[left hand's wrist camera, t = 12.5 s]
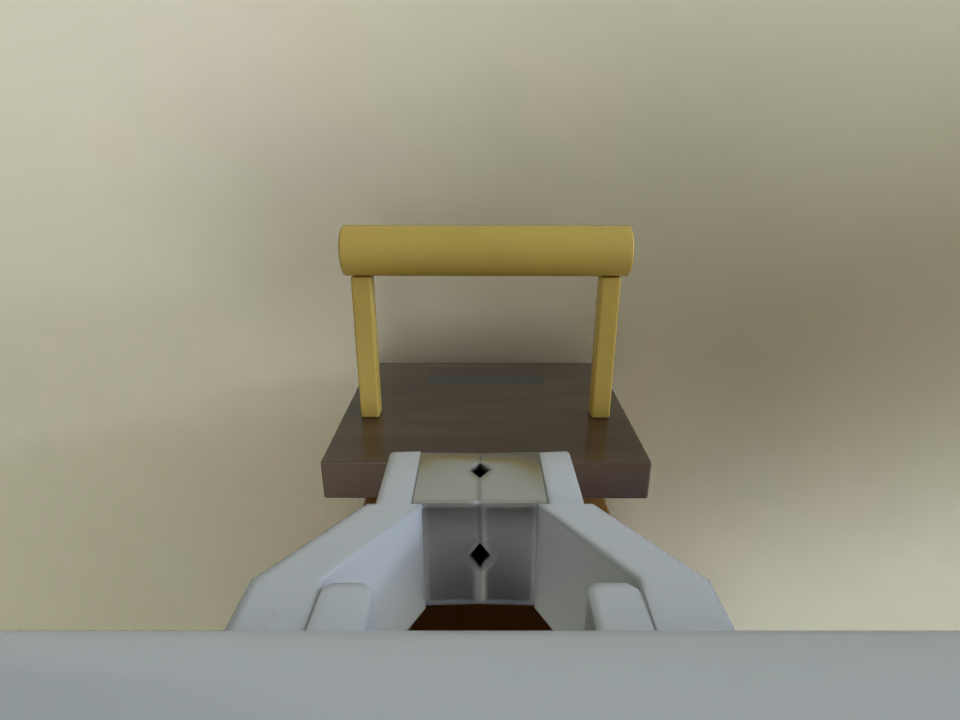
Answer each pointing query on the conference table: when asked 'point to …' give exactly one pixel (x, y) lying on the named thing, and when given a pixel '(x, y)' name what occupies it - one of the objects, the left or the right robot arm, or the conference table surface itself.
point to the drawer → (486, 379)
